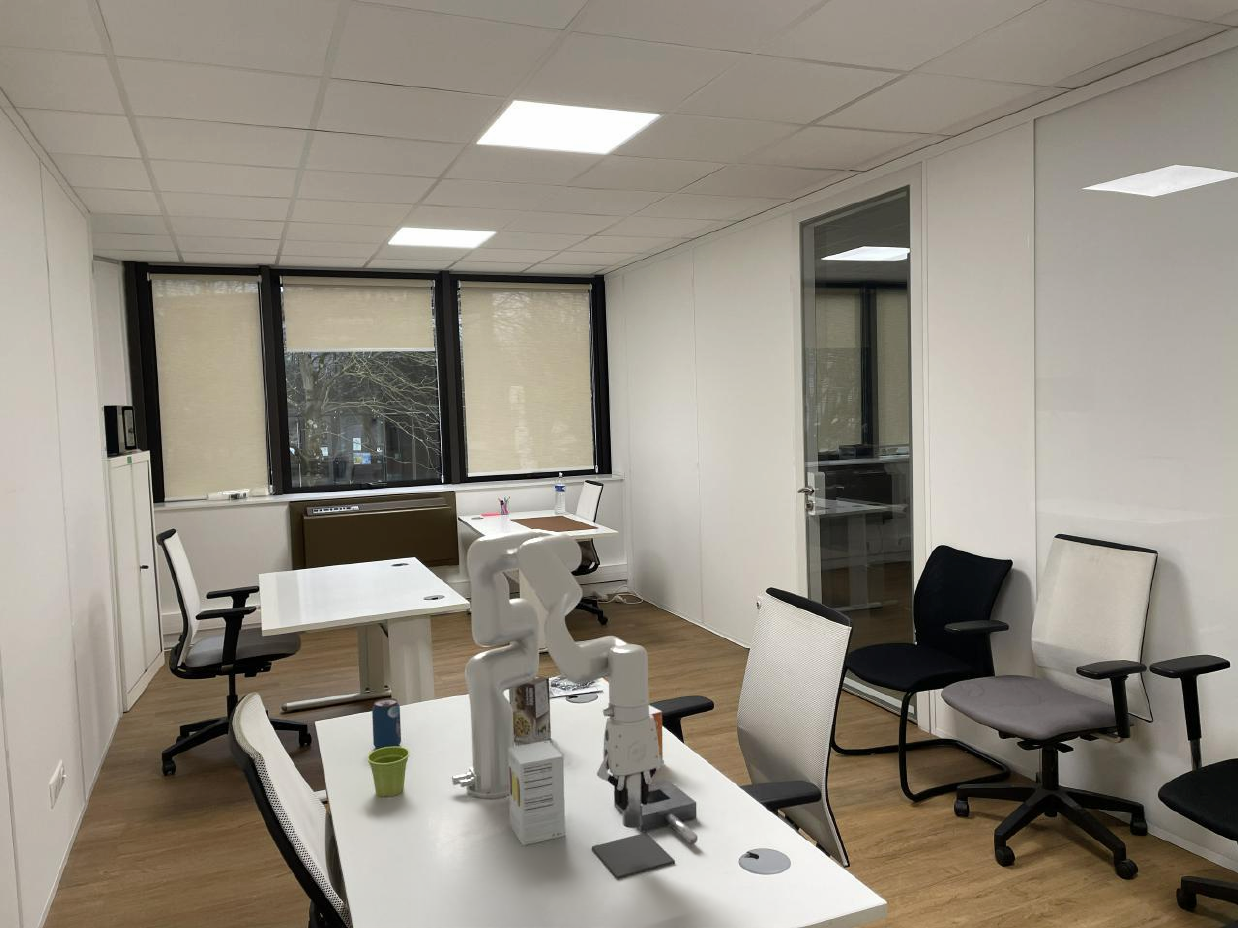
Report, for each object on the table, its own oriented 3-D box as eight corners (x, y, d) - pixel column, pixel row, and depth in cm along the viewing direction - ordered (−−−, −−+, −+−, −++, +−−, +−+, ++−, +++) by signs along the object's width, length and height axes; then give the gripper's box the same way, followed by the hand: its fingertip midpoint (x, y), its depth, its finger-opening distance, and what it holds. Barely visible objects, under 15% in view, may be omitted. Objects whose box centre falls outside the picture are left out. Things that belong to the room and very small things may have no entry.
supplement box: (509, 825, 177) (506, 746, 176) (551, 816, 181) (549, 738, 180) (522, 846, 168) (519, 763, 167) (566, 836, 172) (564, 755, 171)
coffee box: (552, 737, 224) (550, 677, 223) (537, 745, 219) (535, 684, 218) (524, 731, 229) (523, 672, 228) (509, 739, 224) (507, 679, 223)
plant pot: (419, 790, 194) (417, 753, 194) (382, 804, 188) (381, 766, 187) (396, 778, 201) (395, 743, 200) (360, 792, 194) (359, 755, 193)
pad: (617, 879, 155) (617, 876, 155) (591, 849, 166) (591, 846, 166) (674, 863, 160) (674, 860, 160) (646, 835, 171) (646, 832, 171)
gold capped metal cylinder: (618, 820, 164) (616, 753, 163) (637, 816, 166) (635, 749, 165) (627, 830, 160) (625, 761, 159) (647, 825, 162) (645, 757, 161)
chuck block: (663, 855, 163) (663, 837, 163) (614, 806, 184) (614, 790, 184) (721, 839, 169) (721, 822, 169) (667, 793, 190) (667, 778, 190)
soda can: (405, 748, 219) (403, 702, 219) (378, 754, 216) (376, 708, 215) (395, 739, 225) (394, 695, 224) (370, 746, 221) (368, 700, 221)
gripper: (597, 724, 155) (600, 822, 156) (677, 709, 162) (679, 803, 163) (581, 712, 162) (584, 806, 163) (659, 697, 169) (661, 788, 170)
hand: (632, 803), depth 163 cm, fingers closed on gold capped metal cylinder, 3 cm apart
